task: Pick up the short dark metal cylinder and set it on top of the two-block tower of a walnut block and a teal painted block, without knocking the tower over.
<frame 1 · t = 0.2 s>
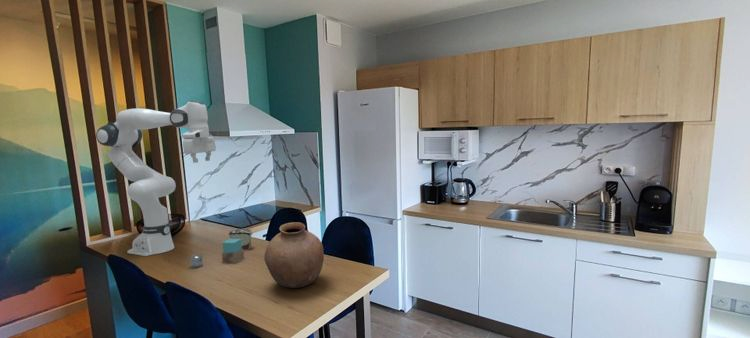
hand: (201, 161, 180), 47 cm above the table, tool pointing down, fingers open, 8 cm apart
walnut base block: (233, 260, 173), on the table, touching teal middle block
food container: (243, 248, 191), on the table
metal cylinder: (197, 266, 167), on the table
pottery: (296, 284, 144), on the table
teal middle block: (232, 250, 173), point 5 cm above the table, touching walnut base block
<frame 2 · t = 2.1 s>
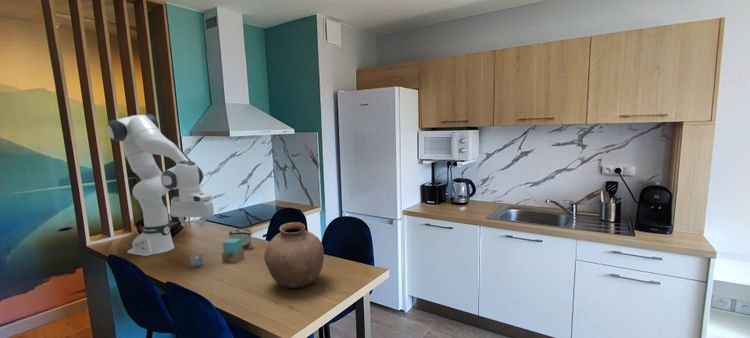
hand: (193, 226, 165), 19 cm above the table, tool pointing down, fingers open, 8 cm apart
nothing on the table moved.
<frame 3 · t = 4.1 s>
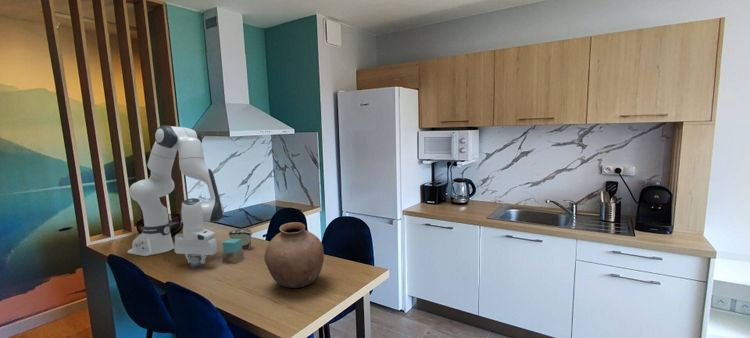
hand: (196, 262, 167), 2 cm above the table, tool pointing down, fingers closed on metal cylinder, 5 cm apart
metal cylinder: (197, 266, 167), on the table, touching gripper
everything else where it was.
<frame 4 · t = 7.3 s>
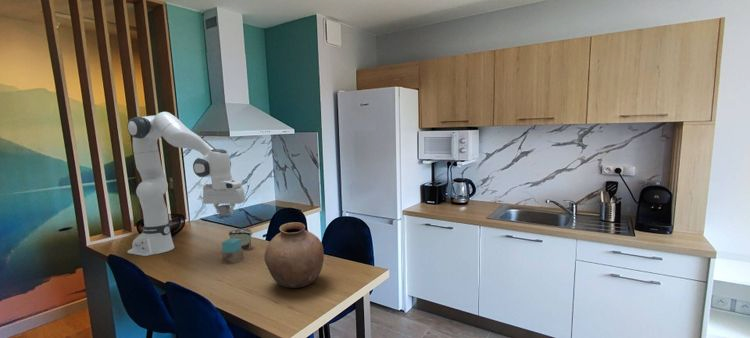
hand: (225, 212, 169), 24 cm above the table, tool pointing down, fingers closed on metal cylinder, 5 cm apart
metal cylinder: (225, 216, 170), point 22 cm above the table, touching gripper
everything else where it was.
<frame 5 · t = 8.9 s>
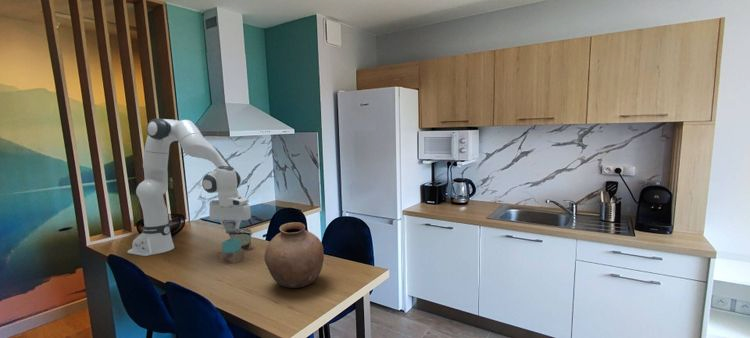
hand: (231, 228, 172), 16 cm above the table, tool pointing down, fingers closed on metal cylinder, 5 cm apart
metal cylinder: (231, 231, 172), point 14 cm above the table, touching gripper
everything else where it was.
when the fingers open (13 cm above the table, at t = 10.3 s): metal cylinder drops 1 cm, resting on teal middle block.
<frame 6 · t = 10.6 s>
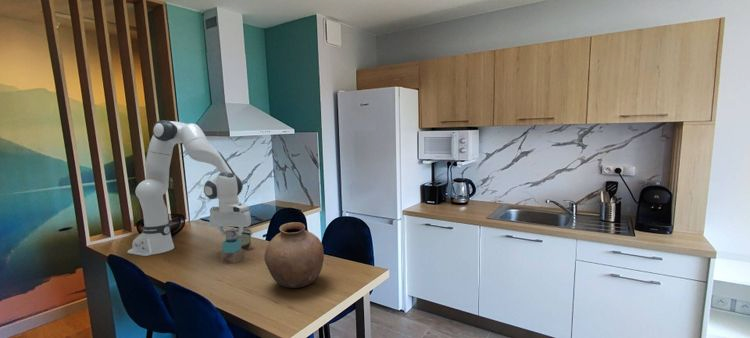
hand: (231, 235, 172), 13 cm above the table, tool pointing down, fingers open, 7 cm apart
metal cylinder: (231, 240, 172), point 10 cm above the table, touching teal middle block
teal middle block: (232, 250, 173), point 5 cm above the table, touching metal cylinder, walnut base block
everything else where it was.
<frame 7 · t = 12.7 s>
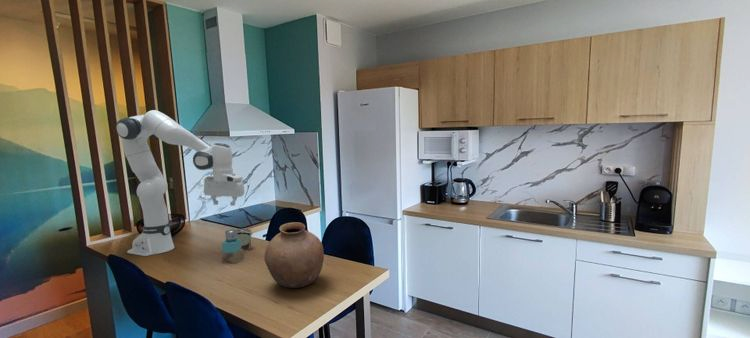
hand: (224, 204, 176), 26 cm above the table, tool pointing down, fingers open, 8 cm apart
nothing on the table moved.
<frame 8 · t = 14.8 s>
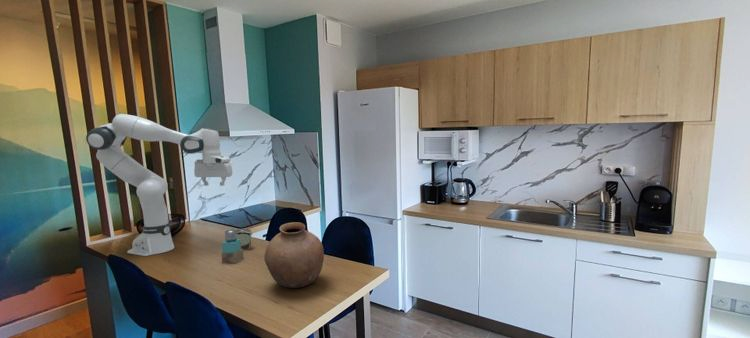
hand: (214, 185, 188), 34 cm above the table, tool pointing down, fingers open, 8 cm apart
nothing on the table moved.
at the end: metal cylinder inside the target area (0.3 cm from its centre), point 9.9 cm above the table; metal cylinder tilted 1°; teal middle block 0.4 cm from the target spot, point 4.8 cm above the table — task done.
